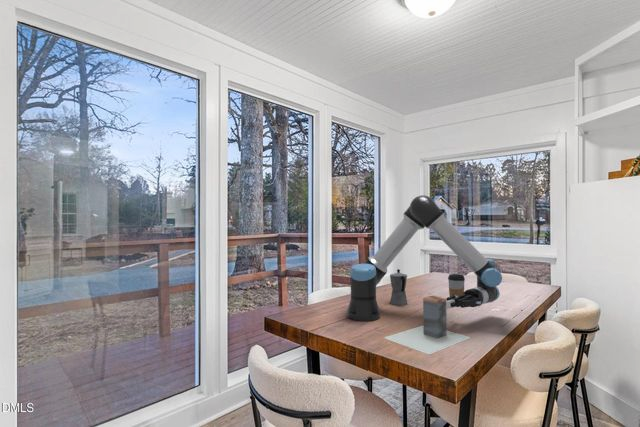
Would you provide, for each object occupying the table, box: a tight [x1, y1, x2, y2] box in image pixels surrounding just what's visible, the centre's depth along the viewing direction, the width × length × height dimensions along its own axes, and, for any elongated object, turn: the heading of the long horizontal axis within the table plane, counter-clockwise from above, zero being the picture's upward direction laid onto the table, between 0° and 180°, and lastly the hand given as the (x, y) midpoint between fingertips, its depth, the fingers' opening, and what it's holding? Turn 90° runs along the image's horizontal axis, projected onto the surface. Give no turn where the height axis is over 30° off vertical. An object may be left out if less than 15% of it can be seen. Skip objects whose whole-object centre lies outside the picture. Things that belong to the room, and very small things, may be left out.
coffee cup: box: [447, 273, 466, 297], centre depth 180 cm, size 8×8×15 cm
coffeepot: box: [389, 269, 408, 306], centre depth 181 cm, size 15×9×18 cm, turn 6°
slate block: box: [422, 295, 448, 339], centre depth 131 cm, size 6×6×14 cm
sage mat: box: [383, 325, 472, 355], centre depth 127 cm, size 26×20×1 cm
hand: (444, 305), depth 133 cm, fingers closed
